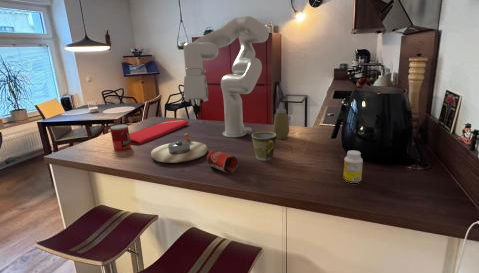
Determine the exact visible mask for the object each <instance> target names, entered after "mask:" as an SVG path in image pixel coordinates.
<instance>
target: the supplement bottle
mask: <svg viewBox="0 0 479 273" xmlns="http://www.w3.org/2000/svg"><path fill="white" fill-rule="evenodd" d="M361 154H362V153H361V152H360V151H359V150H354V149H353V150H348V151H347V154H346V156H344V160H343V161H344V163H343V175H342V179H344V180H345V181H346V182H350V183H358V182H360V181H362V174H363V173H362V172H363V164H364V162H363V160H364V159H363V158H362V156H361ZM344 180H343V181H344ZM345 181H344V182H345ZM346 182H345V183H346ZM360 183H361V182H360ZM358 184H359V183H358Z"/></svg>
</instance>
